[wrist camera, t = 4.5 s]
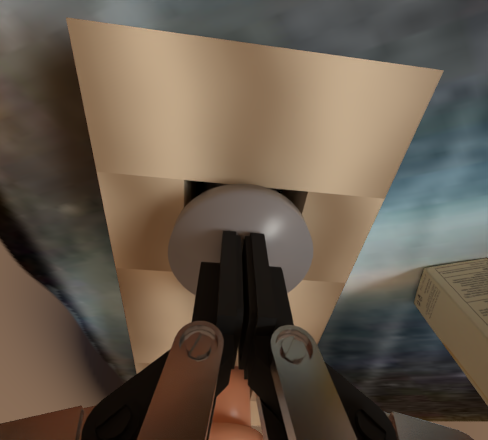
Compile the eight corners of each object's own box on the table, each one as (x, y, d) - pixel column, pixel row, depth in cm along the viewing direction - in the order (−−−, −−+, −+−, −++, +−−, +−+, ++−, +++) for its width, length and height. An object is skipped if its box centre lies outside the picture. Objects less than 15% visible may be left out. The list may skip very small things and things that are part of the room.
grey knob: (301, 152, 14) (331, 203, 10) (279, 240, 18) (295, 309, 13) (187, 140, 14) (164, 188, 9) (187, 233, 17) (170, 303, 13)
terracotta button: (264, 350, 20) (273, 444, 15) (253, 390, 23) (257, 477, 18) (181, 347, 19) (164, 443, 14) (182, 388, 22) (168, 477, 18)
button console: (382, 62, 13) (443, 70, 9) (273, 375, 28) (279, 426, 25) (120, 25, 12) (66, 17, 8) (158, 372, 27) (146, 424, 24)
